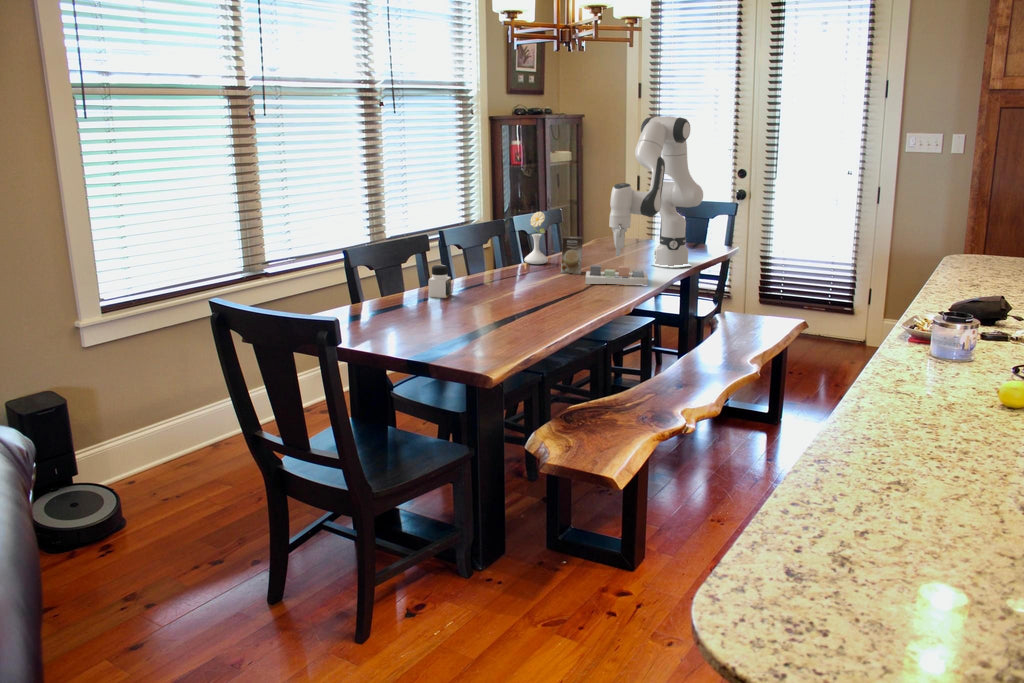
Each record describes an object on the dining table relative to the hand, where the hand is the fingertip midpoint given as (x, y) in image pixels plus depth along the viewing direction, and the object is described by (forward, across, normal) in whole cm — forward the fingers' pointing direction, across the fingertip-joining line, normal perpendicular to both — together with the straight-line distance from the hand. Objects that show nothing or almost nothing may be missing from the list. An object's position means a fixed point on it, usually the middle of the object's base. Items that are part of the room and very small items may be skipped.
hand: (618, 255), depth 363 cm
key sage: (+11, +1, +3) cm, 11 cm away
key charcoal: (+9, +1, +9) cm, 13 cm away
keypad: (+12, +1, 0) cm, 12 cm away
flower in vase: (+11, +39, +36) cm, 54 cm away
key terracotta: (+9, +1, -3) cm, 10 cm away
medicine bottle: (+13, -37, +70) cm, 80 cm away
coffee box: (+12, +19, +20) cm, 30 cm away
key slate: (+11, +1, -9) cm, 14 cm away
